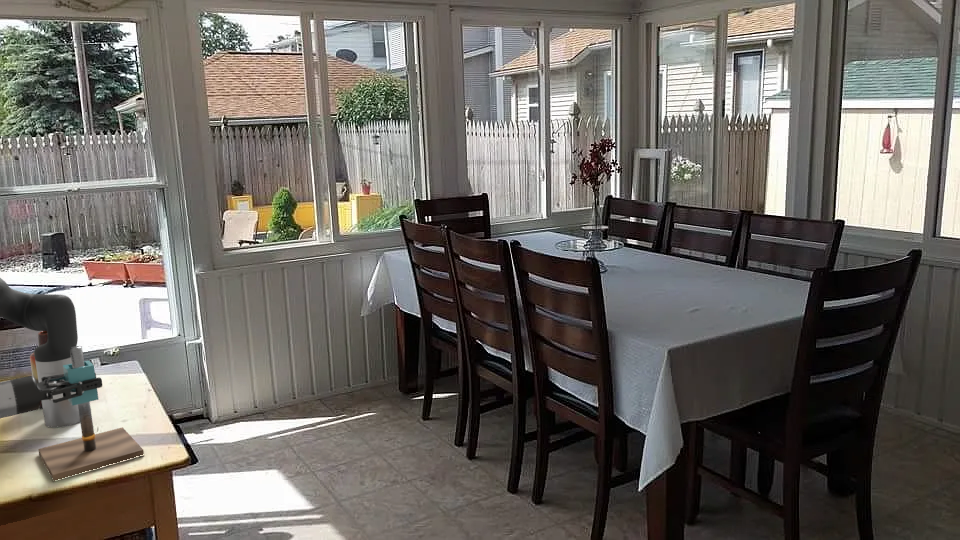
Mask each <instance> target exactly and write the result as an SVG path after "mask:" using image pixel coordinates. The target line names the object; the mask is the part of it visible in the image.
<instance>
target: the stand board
mask: <svg viewBox="0 0 960 540" xmlns="http://www.w3.org/2000/svg"><path fill="white" fill-rule="evenodd" d="M95 443H96V449H95V450H93V451H89V452H86V451H84V444H83V441H82V437H80V438H75V439H72V440H68V441H63V442H61V443H57V444H53V445H49V446H45V447H41V448H38V455H39V458H40V457H41V458H40V459H41V460H42V463H43V464H45V465H44V466H45V468H46V470H47V472H48V471H49V472H48V473H50V474H49V475H50V477H51V479H52V478H53V479H52V481H53V480H54V481H53V482H56V481H55V480H58V479H61V480H63V479H62V478H65V477H68V476H72V475H75V474H79V473H82V472H85V471H89V470H93V469H97V468H100V467H102V466H106V465H109V464H113V463H117V462H120V461H123V460H127V459H130V458H134V457H136V456H140V455H143V454H144V455H145V451H144V449H143V448H142V447H141V445H140V444H139V443H138V442H137V441H136V440H135V439H134V438H133V437H132V436H131V435H130V433H128V432H127V430H126V429H125V428H124V427H118V428H115V429H110V430H107V431H103V432H99V433H95ZM100 469H101V468H100ZM97 470H98V469H97ZM93 471H94V470H93ZM79 475H80V474H79ZM72 477H73V476H72ZM65 479H66V478H65ZM58 481H59V480H58Z"/></svg>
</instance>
